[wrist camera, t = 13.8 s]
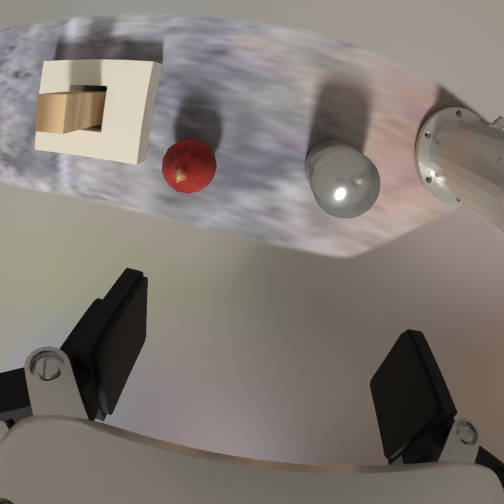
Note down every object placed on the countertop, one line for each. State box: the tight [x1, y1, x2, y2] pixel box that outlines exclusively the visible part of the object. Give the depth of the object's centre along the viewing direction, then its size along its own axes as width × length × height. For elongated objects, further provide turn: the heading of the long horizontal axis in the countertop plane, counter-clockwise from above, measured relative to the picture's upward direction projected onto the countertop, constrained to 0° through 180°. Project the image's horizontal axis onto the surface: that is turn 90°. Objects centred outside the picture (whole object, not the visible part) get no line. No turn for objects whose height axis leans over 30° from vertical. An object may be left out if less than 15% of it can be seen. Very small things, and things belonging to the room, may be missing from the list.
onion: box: [162, 139, 217, 193], centre depth 33 cm, size 6×6×8 cm
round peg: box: [305, 140, 380, 218], centre depth 32 cm, size 7×7×8 cm
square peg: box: [36, 90, 107, 134], centre depth 29 cm, size 4×4×10 cm
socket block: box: [35, 59, 162, 165], centre depth 32 cm, size 16×12×3 cm
